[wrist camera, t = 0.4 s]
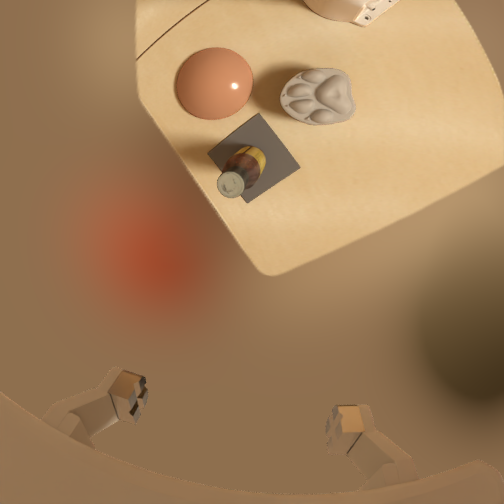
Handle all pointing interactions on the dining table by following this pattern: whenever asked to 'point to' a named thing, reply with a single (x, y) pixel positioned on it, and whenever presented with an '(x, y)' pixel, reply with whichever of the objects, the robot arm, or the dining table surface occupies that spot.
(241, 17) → the dining table surface
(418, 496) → the robot arm
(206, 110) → the terracotta plate
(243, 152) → the sauce bottle
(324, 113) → the lumpy-topped squat cylinder
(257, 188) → the rubber mat
